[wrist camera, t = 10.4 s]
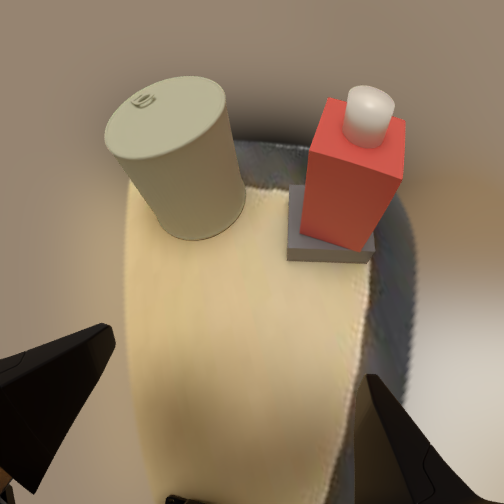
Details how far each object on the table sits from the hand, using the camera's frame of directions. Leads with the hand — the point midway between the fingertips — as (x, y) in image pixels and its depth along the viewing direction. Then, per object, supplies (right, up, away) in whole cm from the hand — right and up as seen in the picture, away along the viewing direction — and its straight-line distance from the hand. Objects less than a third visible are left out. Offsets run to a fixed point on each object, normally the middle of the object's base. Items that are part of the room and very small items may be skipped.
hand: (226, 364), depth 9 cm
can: (-4, +9, +19) cm, 22 cm away
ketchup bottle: (+8, +6, +14) cm, 17 cm away
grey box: (+8, +5, +17) cm, 19 cm away
